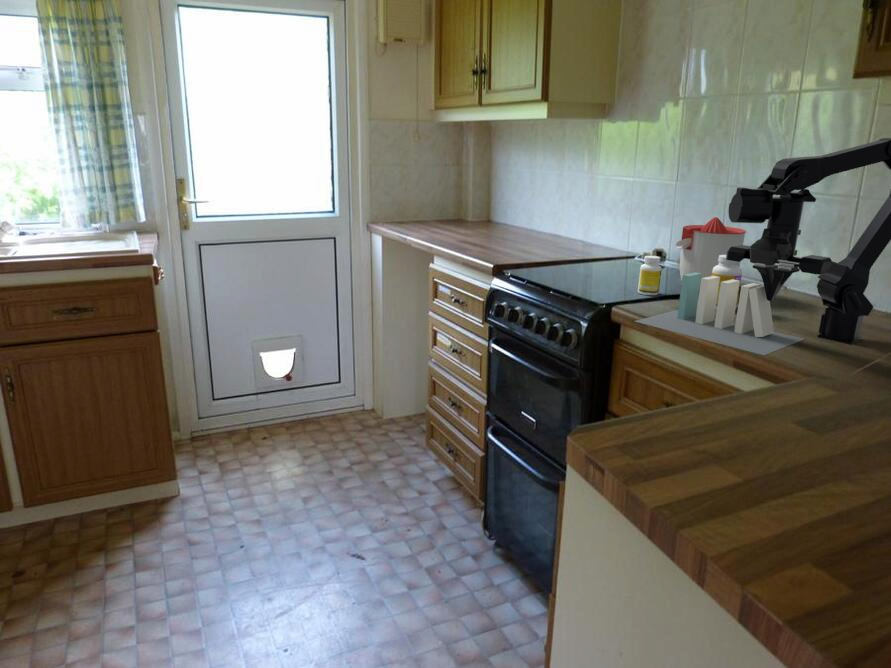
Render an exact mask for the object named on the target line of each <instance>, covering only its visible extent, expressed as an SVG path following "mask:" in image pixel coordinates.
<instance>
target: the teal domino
mask: <svg viewBox="0 0 891 668" xmlns="http://www.w3.org/2000/svg"><path fill="white" fill-rule="evenodd" d="M700 281H701V273H690V274H685V275H683V277H682V283H681V285H680V286H681V287H680V295H679V301H678V308H677V310H678V316H677V318H678V319H682V320H685V319H688V318H692V317H696V313H697V306H698V299H699V289H700Z"/></svg>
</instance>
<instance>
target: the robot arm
mask: <svg viewBox="0 0 891 668" xmlns="http://www.w3.org/2000/svg"><path fill="white" fill-rule="evenodd" d="M878 163H883V164H884V165H885V167H886V168H887V169H889V170H890V171H891V137H882V138H880V139H878V140H875V141H870V142H868V143H864V144H863V143H862V144H861V145H857V146H853V147H848V148H845V149H841V150H838V151H833V152H829V153H826V154H825V153H824V154H823V155H822V154H821V155H818V156H817V155H815V156H813V155H812V156H799V157H787V158H782V159H780V160H778V161H777V162H776V163H775V164H774V166H773V168H772V169H771V173H770V174H769V175H768V176H767V177H766V179H765V180H764V181H762V183H761V184H760V185H759V186H758V187H757V188H746V187H741V186H740V187H737V188H736V192H735V194H734V195H733V196H732V198H731V200H730V203H728V204H729V205H728V209H727V210H728V218H729V221H730V222H731V223H734V224H735V223H736V224H737V223H740V224H741V223H742V224H764V223H765V222H766V221H767V225H766V228H765V227H764V228H763V231H762V235H761V237H760V239H757V240H756V241H754V242H753V243H752V244H751V245H745V244H743V245H738V246H732V247H730V248H729V249H728V251H727V255H726V260H730V261H737V262H740V263H741V262H743V260H745V259H747V260H749V262H750V263H751V264H754V265H752V269H754V270H755V269H756V270H757V271H758V273H759V274H760V276H761V279H762V284H763V286H764V288H765V293H766V298H767V301H770V302H773V301H774V300H775V298H777V295H778V294H779V292H780V291H781V289H782V288H783V287H784V285H785V284H786V282H787V281H788V279H789V278H790V277H791V276H792V275H793V274H794V273H798V272H800V271H801V272H802V273H806V274H812V275H817V278H818V279H819V280H818V281H817V284H816V288H817V292H818V295H819V296H820V297H821V302H822V306H824V307H825V311H824V313H823V314H821V318H820V321H819V322H820V323H819V329H818V334H817V335H816V338H819V339H823V340H828V341H833V342H837V343H840V344H841V343H842V344H846V345H852V344H854V343H857V342H859V341H861V340H862V339H863V338H862V337H860V334H861V329H862V324H863V319H864V317H868V316H870V313H871V312H872V310H873V308H874V305H873V304H872V303H871V302H870V300H869V299H868V298H867V296H866V295H865V294H864V293H865V291H866V289H867V287H868V286H869V281H870V274H871V273H870V271H871V269H872V267H873V266H874V264H875V263H876V262H877V261H878V258H879V257H880V256H881V255H882V253H883V252H884V251H885V249H886V247H887V246H888V244H889V243H890V241H891V190H890V191H889V194H888V197H887V199H886V200H885V201H884V203H883V204H882V206H881V207H880V208H879V209H878V211H877V213H876V214H875V215H874V217H873V219H872V220H871V221H870V222H869V224H868V225H867V227H866V228H865V229H864V231H863V233H862V234H861V235H860V237H859V238H858V240H857V241H856V242H855V244H854V246H853V247H852V248H851V250H850V251H849V253H848V254H847V256H846V257H845V258H843V259H842V260H840V261H839V262H835V261H833V260H832V259H831V257H828V256H824V255H823V256H820V255H815V254H810V255H809V254H808V255H805V256H802V257H799V256H797V255H798V250H797V249H796V246H797V242H798V236H800V235H801V234H802V229H800V224H801V220H802V214H803V209H804V204H805V202H806V203H815V202H816V201H817V198H816V197H815V196H814V194H812V193H811V191H810V189H808V188H809V187H812V186H814V185H816V184H818V183H820V182H822V181H823V180H824V179H826V178H828V177H830V176H833V175H836V174H840V173H843V172H846V171H847V172H848V171H851V170H855V169H859V168H863V167H867V166H870V165H874V164H878ZM795 191H797V192H795Z"/></svg>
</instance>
